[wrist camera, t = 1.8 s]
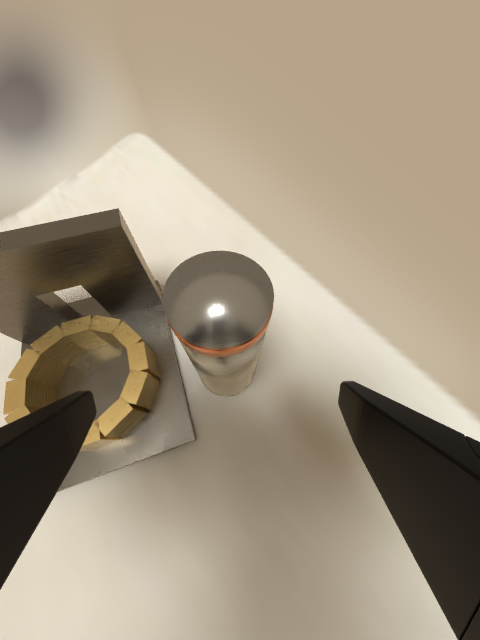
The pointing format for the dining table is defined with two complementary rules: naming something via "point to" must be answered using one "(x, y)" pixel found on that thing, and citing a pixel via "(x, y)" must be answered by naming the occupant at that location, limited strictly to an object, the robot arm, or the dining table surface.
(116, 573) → the dining table surface
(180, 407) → the collar stand
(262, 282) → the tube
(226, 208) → the dining table surface
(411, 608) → the dining table surface
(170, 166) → the dining table surface
